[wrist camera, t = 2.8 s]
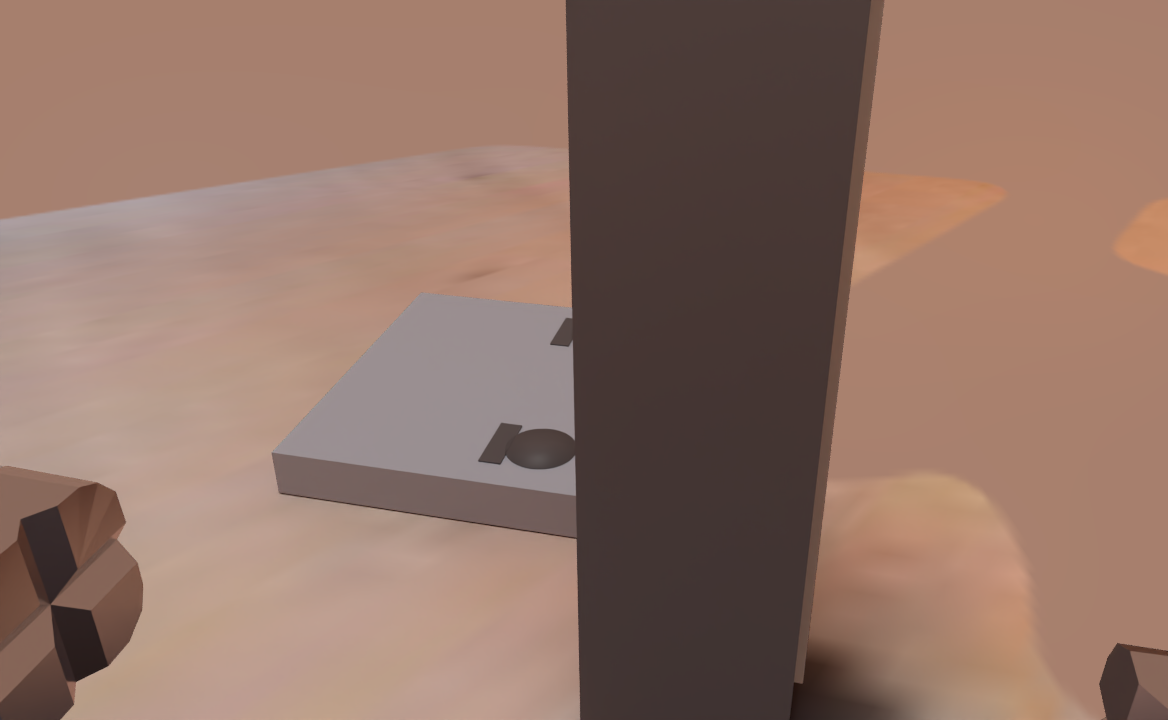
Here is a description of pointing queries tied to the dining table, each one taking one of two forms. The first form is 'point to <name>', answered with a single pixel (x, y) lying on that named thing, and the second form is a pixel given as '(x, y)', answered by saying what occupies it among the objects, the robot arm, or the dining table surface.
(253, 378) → the dining table surface
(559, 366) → the mounting plate
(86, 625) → the robot arm
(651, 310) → the tall taupe pillar
